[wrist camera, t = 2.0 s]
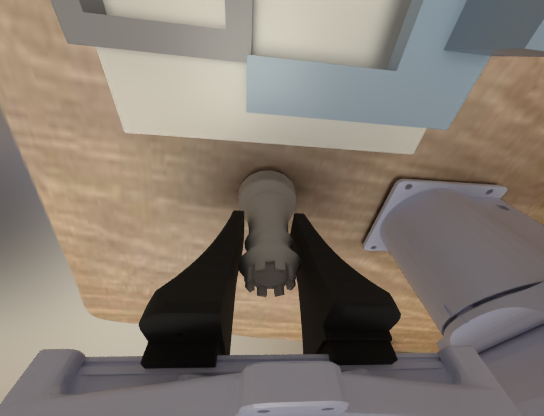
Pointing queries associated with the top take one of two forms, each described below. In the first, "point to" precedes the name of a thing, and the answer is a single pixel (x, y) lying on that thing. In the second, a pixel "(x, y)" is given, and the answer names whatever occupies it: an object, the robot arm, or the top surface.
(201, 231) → the top surface
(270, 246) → the rook chess piece
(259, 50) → the cream rectangular board
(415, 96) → the blue frame with block
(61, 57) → the top surface
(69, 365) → the robot arm
